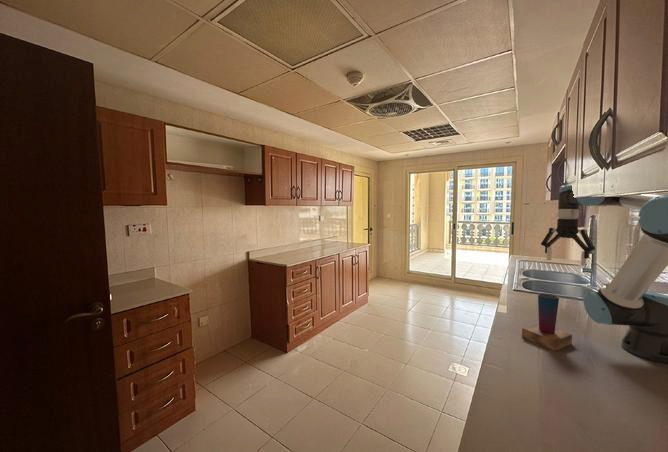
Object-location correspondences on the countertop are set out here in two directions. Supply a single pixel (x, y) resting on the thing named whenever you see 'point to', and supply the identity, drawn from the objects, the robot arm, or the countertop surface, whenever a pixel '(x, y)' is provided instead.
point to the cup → (547, 312)
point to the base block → (547, 337)
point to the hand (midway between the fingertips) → (565, 262)
